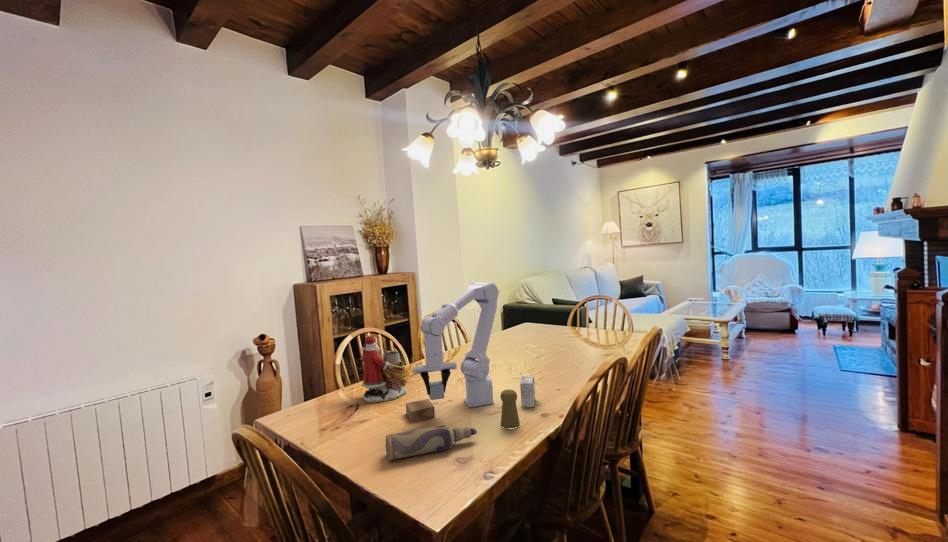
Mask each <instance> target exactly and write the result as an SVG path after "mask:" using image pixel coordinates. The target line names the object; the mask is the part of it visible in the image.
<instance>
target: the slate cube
mask: <svg viewBox="0 0 948 542" xmlns="http://www.w3.org/2000/svg"><path fill="white" fill-rule="evenodd" d="M429 388H430V395H428V397H429V399H430V401H435V400H442V399H445V393H444V385H443V383H442V380H436V381H431V382H430V381H429Z"/></svg>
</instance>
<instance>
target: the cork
mask: <svg viewBox="0 0 948 542" xmlns="http://www.w3.org/2000/svg"><path fill="white" fill-rule="evenodd" d="M500 399H501V401H502V404H501V405H502V406H501V417H500V427H501V426H502V427H504V428H515V427H518V426H519V425H520V424H521V423H520V419H519V412H518V408H517V399H518V394H517V392H516V390H514V389H504V390H502V391H501V392H500ZM520 426H521V425H520ZM520 426H519V427H520ZM502 427H501V428H502ZM519 427H518V428H519ZM504 428H503V429H504Z"/></svg>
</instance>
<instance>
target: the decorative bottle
mask: <svg viewBox="0 0 948 542" xmlns="http://www.w3.org/2000/svg"><path fill="white" fill-rule="evenodd" d="M477 433H478V431H477V429H476V428H471V427H463V428H462V427H454V428H451V427H450V426H449V425H448V424H444V425H443V424H442V425H436V426H431V427H426V428H420V429H415V430H409V431H408V430H407V431H403V432H397V433H392V434H387V435H385V452H386V458H387V460H388V461H389V462H391V461H394V460H396V461H397V460H398V459H405V458H410V457H414V456H418V455H420V456H421V455H423V454H429V453H433V452H444V451H448V450H450V449H452V447H453V446H454V445H455V444H456V443H457V442H460V441H462V440H465V439H469V438H471V437H472V436H474V435H476V434H477ZM449 448H450V449H449ZM447 449H448V450H447Z"/></svg>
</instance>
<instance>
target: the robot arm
mask: <svg viewBox="0 0 948 542" xmlns="http://www.w3.org/2000/svg"><path fill="white" fill-rule="evenodd" d="M499 293H500V290H499V288H498V287H497V285H496V284H495V283H494V282H481V281H480V282H478V281H474V282H471V284H469V285H468V286H467V287H466V289H465V290H464V292H462V293H461V294H460V295H459V296H458V297H457V298H456V299H454V301H452V303H450V302H447V303H442V304H441V307H440V308H439V309H437V310H436V311H435V312H433V313H432V314H431V316H425V317H424V318H423V319H422V321H421V325H419V328H420V330H421V332H422V334H423V338H424V339H423V340H424V350H425V352H424V353H425V364H424V365H420V366H417V367H416V366H415V367H412V376H414V375H415V376H417V375H418V374H419V375H420V377H421V379H422V380H423V383H424V385H425V388H426V393H427V396H429V395H430V388H429V382H430V375H429V373H434V372H440V375H441V381H442V383H443V385H444V394H445V393H446V389H447V384H448V381H449V378H450V376H451V373H452V372H451V370H457V369H458V368H457V367H458V366H457V363H456V362H444V357H443V356H444V354H443V353H444V352H443V341H442V340H443V338H442V336H443V335H442V334H443V333H444V331H445V329H446V327H447V325H448V324H450V322H452V321H453V320H454V319H455V318H456V317H458V314H459V313H458V312H459V311H460V310H461V309H463V308H464V307H465V306H467V305H468V304H469V303H471V302H473V301H474V302H476V303H477V304H478V305H479V307H480V309H481V311H480V315H479V317H478V321H477V325H476V331H475V333H474V338H473V342H472V346H471V349H470V350H469V351H468V352H466V353H465V356H464V359H463V360H462V362H461V364H460V371H461V373H462V374H463V378H464V379H465V393H466V394H465V396H466V397H464V398H463V401H464V402H465V404H466V405H467V407H468V408H473V407H479V406H480V407H481V406H486V405H492V404H494V403H495V402H494V389H493V382H492V381H493V380H492V378H491V377H490V376H489V373H490V361H491V360H490V358H489V357H488V355H487V350H488V346H489V342H490V338H491V333H492V330H493V325H494V320H495V318H496V313H497V309H498V298H499Z"/></svg>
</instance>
